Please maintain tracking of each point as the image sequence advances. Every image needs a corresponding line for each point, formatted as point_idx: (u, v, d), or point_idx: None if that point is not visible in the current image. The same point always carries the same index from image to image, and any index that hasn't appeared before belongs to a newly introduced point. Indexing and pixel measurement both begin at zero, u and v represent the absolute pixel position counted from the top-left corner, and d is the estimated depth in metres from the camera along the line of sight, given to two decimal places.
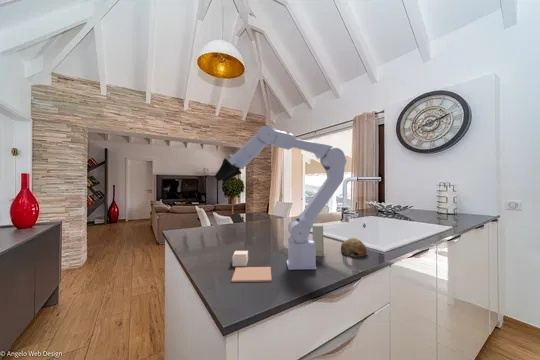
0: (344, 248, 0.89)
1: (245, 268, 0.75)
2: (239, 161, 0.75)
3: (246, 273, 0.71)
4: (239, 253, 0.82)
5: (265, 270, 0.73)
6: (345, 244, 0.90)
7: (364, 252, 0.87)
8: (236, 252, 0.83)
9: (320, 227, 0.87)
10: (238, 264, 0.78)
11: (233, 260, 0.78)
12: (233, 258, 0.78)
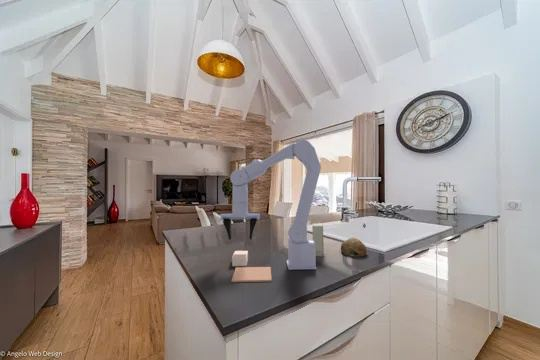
0: (344, 248, 0.90)
1: (245, 268, 0.75)
2: (232, 213, 0.81)
3: (246, 273, 0.71)
4: (239, 253, 0.82)
5: (265, 270, 0.73)
6: (345, 244, 0.90)
7: (364, 252, 0.87)
8: (236, 252, 0.83)
9: (320, 227, 0.87)
10: (238, 264, 0.78)
11: (233, 260, 0.78)
12: (233, 258, 0.78)
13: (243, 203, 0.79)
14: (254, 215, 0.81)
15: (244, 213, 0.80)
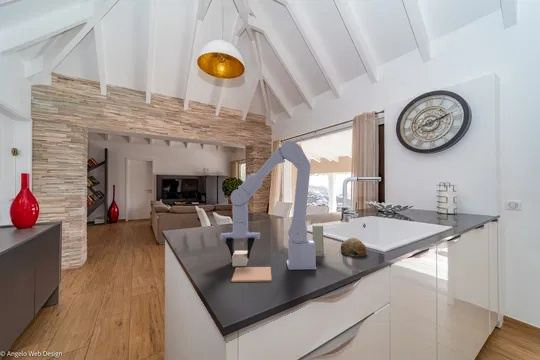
0: (344, 248, 0.90)
1: (245, 268, 0.75)
2: (232, 232, 0.81)
3: (246, 273, 0.71)
4: (239, 253, 0.82)
5: (265, 270, 0.73)
6: (345, 244, 0.90)
7: (364, 252, 0.87)
8: (236, 252, 0.83)
9: (320, 227, 0.87)
10: (238, 264, 0.78)
11: (233, 260, 0.78)
12: (233, 258, 0.78)
13: (243, 223, 0.79)
14: (254, 235, 0.81)
15: (244, 233, 0.80)
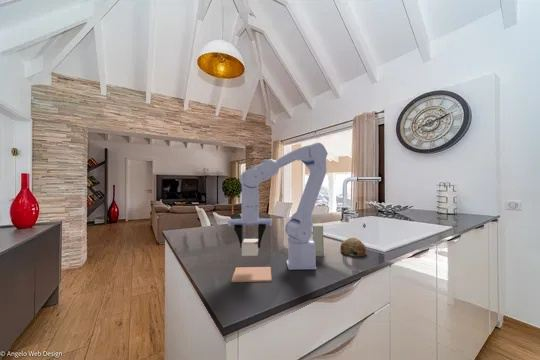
0: (344, 248, 0.90)
1: (245, 268, 0.75)
2: None
3: (246, 273, 0.71)
4: (249, 241, 0.73)
5: (265, 270, 0.73)
6: (344, 244, 0.90)
7: (363, 252, 0.88)
8: (245, 240, 0.74)
9: (320, 227, 0.87)
10: (248, 253, 0.69)
11: (242, 248, 0.69)
12: (242, 246, 0.69)
13: (254, 207, 0.70)
14: (266, 221, 0.71)
15: (255, 218, 0.70)
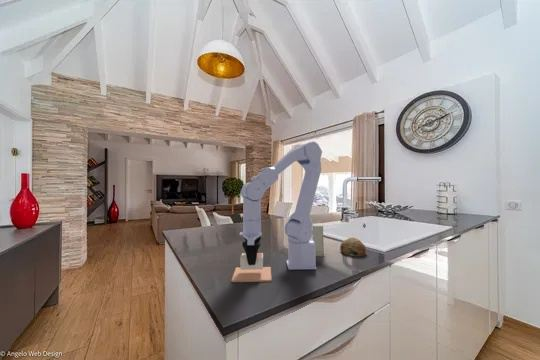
0: (343, 248, 0.90)
1: None
2: (254, 233, 0.68)
3: (246, 273, 0.71)
4: None
5: (265, 270, 0.73)
6: (344, 244, 0.91)
7: (363, 251, 0.88)
8: (246, 257, 0.69)
9: (320, 227, 0.87)
10: None
11: (262, 261, 0.69)
12: (262, 259, 0.69)
13: None
14: None
15: None
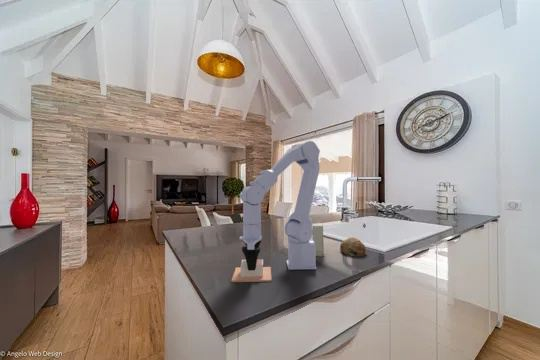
0: (343, 247, 0.90)
1: None
2: (254, 237, 0.68)
3: None
4: None
5: (265, 270, 0.73)
6: (344, 243, 0.91)
7: (363, 251, 0.88)
8: (246, 264, 0.69)
9: (320, 227, 0.87)
10: None
11: None
12: None
13: None
14: None
15: None
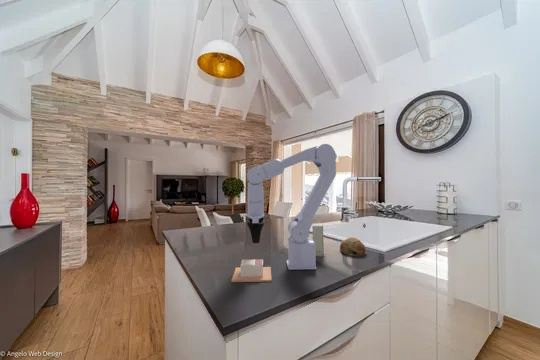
0: (343, 247, 0.90)
1: None
2: (258, 213, 0.75)
3: None
4: (251, 262, 0.70)
5: (265, 270, 0.73)
6: (344, 243, 0.91)
7: (363, 251, 0.88)
8: (246, 264, 0.69)
9: (320, 227, 0.87)
10: None
11: None
12: None
13: None
14: None
15: None
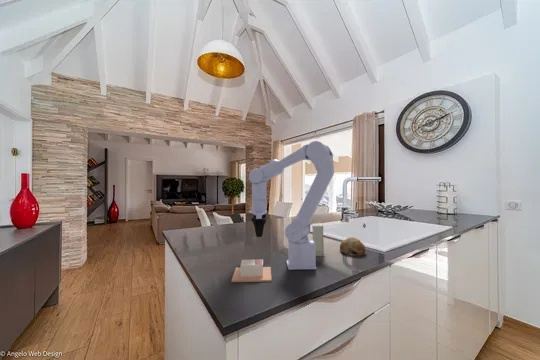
0: (343, 247, 0.91)
1: None
2: (261, 210, 0.83)
3: None
4: (251, 262, 0.70)
5: (265, 270, 0.73)
6: (344, 243, 0.91)
7: (363, 251, 0.88)
8: (246, 264, 0.69)
9: (320, 227, 0.87)
10: None
11: None
12: None
13: None
14: None
15: None
